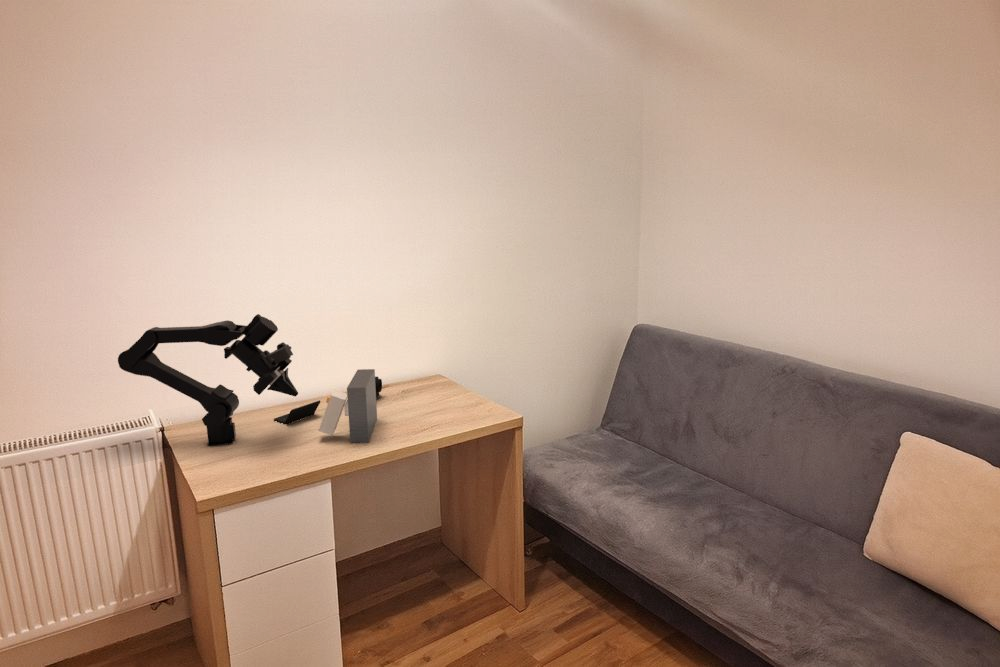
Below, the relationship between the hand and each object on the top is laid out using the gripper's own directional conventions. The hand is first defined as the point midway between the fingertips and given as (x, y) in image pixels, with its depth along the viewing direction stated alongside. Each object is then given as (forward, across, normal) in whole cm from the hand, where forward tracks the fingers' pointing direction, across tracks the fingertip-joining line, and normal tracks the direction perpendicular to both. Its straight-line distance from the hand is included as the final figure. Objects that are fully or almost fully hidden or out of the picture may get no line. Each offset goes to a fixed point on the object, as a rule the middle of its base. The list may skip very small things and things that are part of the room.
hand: (297, 394), depth 179 cm
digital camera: (+20, +32, -1) cm, 38 cm away
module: (+12, 0, +2) cm, 13 cm away
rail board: (+21, +5, -2) cm, 22 cm away
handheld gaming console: (+6, +17, +13) cm, 22 cm away
